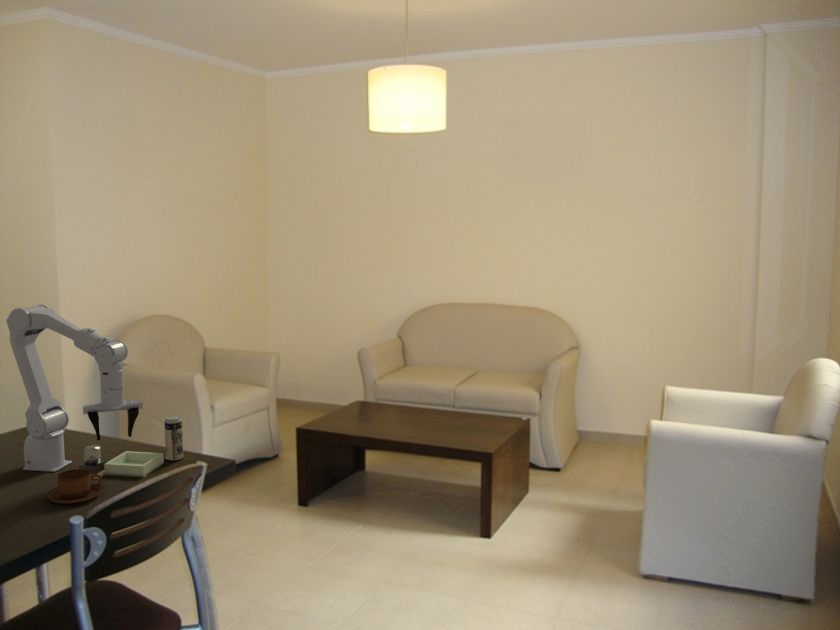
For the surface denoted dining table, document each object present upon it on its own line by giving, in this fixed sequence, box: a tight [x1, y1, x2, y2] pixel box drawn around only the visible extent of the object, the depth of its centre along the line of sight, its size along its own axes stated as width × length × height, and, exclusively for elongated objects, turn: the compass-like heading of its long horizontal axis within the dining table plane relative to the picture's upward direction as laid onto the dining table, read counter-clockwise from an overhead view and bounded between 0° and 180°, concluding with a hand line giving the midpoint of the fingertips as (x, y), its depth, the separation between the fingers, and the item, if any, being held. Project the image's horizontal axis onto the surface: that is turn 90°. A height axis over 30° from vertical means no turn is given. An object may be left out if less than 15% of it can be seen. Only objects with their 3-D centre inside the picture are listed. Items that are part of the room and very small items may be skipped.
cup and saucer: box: [47, 468, 103, 505], centre depth 183 cm, size 12×12×6 cm
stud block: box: [91, 470, 106, 480], centre depth 200 cm, size 7×7×3 cm
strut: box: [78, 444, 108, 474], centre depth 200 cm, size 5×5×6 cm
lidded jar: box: [163, 415, 184, 462], centre depth 212 cm, size 5×5×12 cm
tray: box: [104, 450, 165, 478], centre depth 204 cm, size 11×11×3 cm
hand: (114, 437), depth 199 cm, fingers open, 7 cm apart
